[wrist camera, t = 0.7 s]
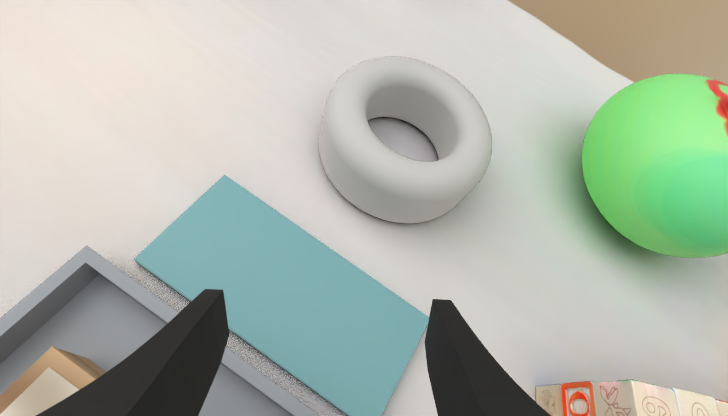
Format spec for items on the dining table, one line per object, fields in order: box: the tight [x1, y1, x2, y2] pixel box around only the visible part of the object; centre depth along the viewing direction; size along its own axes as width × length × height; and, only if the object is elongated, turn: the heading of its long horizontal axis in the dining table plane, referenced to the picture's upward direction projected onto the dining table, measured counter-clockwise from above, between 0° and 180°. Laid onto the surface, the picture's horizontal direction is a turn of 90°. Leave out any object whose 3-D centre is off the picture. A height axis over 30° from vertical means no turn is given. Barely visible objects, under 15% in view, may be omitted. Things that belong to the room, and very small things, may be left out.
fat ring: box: [318, 56, 492, 223], centre depth 35 cm, size 15×15×7 cm
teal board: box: [134, 175, 429, 416], centre depth 29 cm, size 9×20×1 cm, turn 58°
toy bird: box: [582, 74, 728, 258], centre depth 37 cm, size 18×17×15 cm
